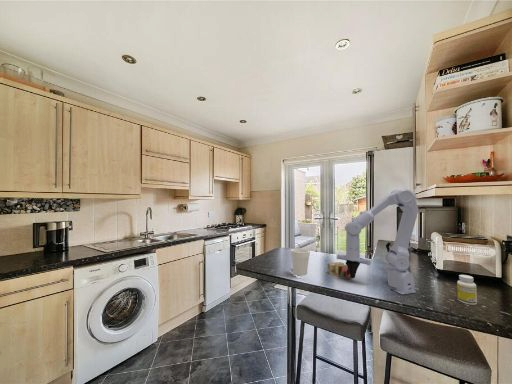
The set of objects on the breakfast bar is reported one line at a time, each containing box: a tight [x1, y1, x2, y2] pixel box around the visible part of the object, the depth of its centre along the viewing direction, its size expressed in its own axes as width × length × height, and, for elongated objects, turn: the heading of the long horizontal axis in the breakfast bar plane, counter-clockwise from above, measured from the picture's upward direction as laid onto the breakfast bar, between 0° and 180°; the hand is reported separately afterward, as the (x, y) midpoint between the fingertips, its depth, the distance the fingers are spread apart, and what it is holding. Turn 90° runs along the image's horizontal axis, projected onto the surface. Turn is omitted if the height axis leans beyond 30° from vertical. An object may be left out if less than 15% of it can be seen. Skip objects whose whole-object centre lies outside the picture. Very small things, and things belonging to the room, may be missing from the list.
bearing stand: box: [327, 261, 352, 280], centre depth 109 cm, size 11×10×6 cm
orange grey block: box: [340, 267, 351, 277], centre depth 108 cm, size 10×3×4 cm, turn 17°
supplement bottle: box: [456, 274, 478, 306], centre depth 85 cm, size 5×5×10 cm
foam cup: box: [290, 247, 310, 276], centre depth 112 cm, size 10×9×13 cm
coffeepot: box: [385, 242, 414, 273], centre depth 117 cm, size 15×9×18 cm, turn 18°
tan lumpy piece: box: [334, 263, 347, 275], centre depth 109 cm, size 3×5×5 cm, turn 107°
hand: (352, 277), depth 101 cm, fingers closed
